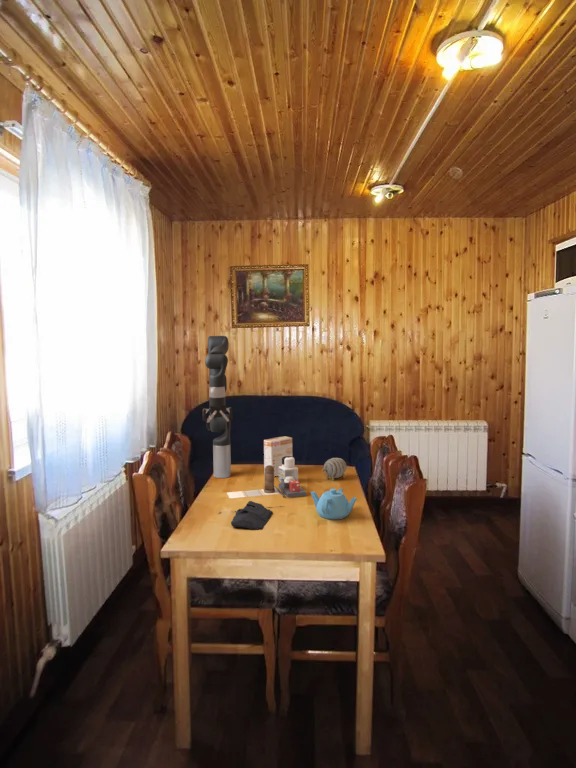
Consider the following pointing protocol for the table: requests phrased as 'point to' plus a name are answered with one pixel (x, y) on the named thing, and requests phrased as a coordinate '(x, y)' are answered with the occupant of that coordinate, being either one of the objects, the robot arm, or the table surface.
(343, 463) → the toy sheep
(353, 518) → the table surface
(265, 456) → the coffeecake box
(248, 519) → the black folded cloth
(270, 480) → the pawn
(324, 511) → the teapot
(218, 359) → the robot arm
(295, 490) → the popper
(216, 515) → the table surface
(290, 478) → the dome
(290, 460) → the container
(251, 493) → the board
